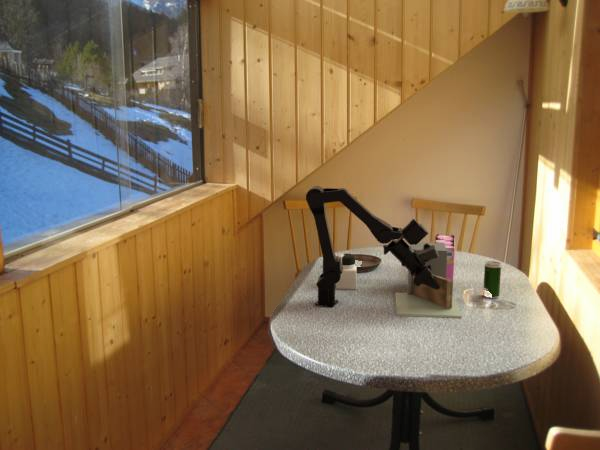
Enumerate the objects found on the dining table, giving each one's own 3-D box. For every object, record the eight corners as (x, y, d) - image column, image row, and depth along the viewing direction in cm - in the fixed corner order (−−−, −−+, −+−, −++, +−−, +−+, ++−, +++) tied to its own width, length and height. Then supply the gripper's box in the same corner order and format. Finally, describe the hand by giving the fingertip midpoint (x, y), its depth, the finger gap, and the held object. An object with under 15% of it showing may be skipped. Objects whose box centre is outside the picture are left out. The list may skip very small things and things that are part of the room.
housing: (395, 284, 234) (396, 241, 231) (450, 285, 231) (452, 243, 228) (396, 315, 201) (397, 266, 198) (461, 318, 198) (463, 268, 195)
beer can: (492, 300, 215) (494, 265, 213) (479, 295, 220) (481, 262, 217) (502, 297, 218) (504, 263, 216) (490, 293, 223) (492, 260, 220)
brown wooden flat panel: (412, 293, 219) (413, 268, 217) (415, 293, 220) (416, 268, 218) (448, 308, 204) (450, 281, 202) (451, 308, 204) (453, 281, 203)
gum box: (434, 265, 259) (435, 233, 256) (454, 266, 257) (455, 234, 254) (431, 282, 236) (433, 246, 234) (453, 283, 234) (455, 247, 232)
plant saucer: (320, 269, 256) (320, 261, 255) (348, 258, 272) (348, 251, 271) (364, 277, 244) (364, 269, 243) (390, 266, 260) (391, 258, 259)
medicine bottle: (356, 283, 235) (356, 252, 232) (356, 289, 228) (356, 257, 225) (337, 283, 235) (337, 251, 233) (336, 289, 228) (336, 256, 226)
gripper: (425, 244, 195) (460, 280, 196) (422, 231, 213) (454, 264, 214) (398, 268, 197) (433, 303, 198) (397, 253, 215) (429, 286, 216)
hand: (438, 288), depth 206 cm, fingers closed
